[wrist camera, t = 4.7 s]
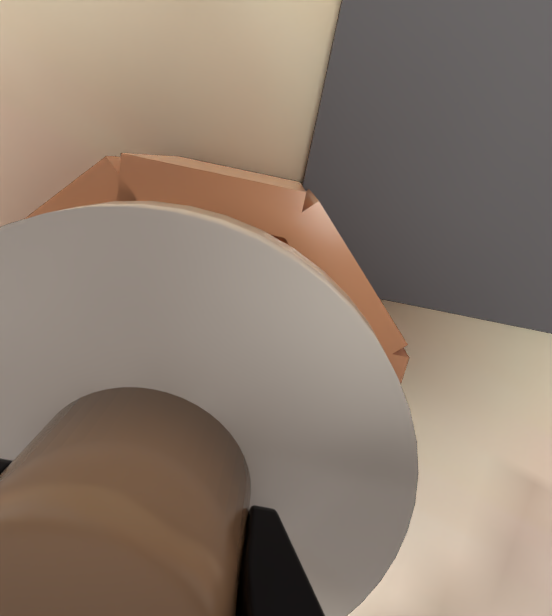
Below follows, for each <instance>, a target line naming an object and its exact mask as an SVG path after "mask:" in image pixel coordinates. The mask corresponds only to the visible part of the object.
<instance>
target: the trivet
mask: <svg viewBox="0 0 552 616" xmlns="http://www.w3.org/2000/svg"><path fill="white" fill-rule="evenodd" d="M302 186H303V188H304V189H305V191H307V190H308V189H309V190H310V191H311V192H312V193H313V194H314V196H315V197H316V198H317V199H318V200H319V202H320V203H321V205H322V207H323V208H324V210H325V212H326V213H327V215H328V216H329V218H330V220H331V221H332V223H333V225H334V226H335V228H336V229H337V231H338V233H339V234H340V236H341V237H342V239H343V241H344V242H345V244H346V246H347V247H348V249H349V250H350V252H351V254H352V255H353V257H354V258H355V260H356V262H357V263H358V265H359V267H360V268H361V270H362V271H363V273H364V275H365V276H366V278H367V279H368V281H369V283H370V284H371V286H372V288H373V289H374V291H375V292H376V294H377V296H378V297H379V299H383V300H388V301H393V302H398V303H403V304H408V305H413V306H418V307H423V308H428V309H433V310H438V311H443V312H448V313H453V314H458V315H462V316H467V317H472V318H477V319H482V320H487V321H492V322H497V323H502V324H507V325H512V326H517V327H522V328H527V329H532V330H537V331H541V332H546V333H551V334H552V0H342V2H341V6H340V11H339V16H338V20H337V25H336V30H335V35H334V39H333V44H332V49H331V53H330V58H329V63H328V67H327V72H326V77H325V81H324V86H323V91H322V96H321V100H320V105H319V110H318V114H317V119H316V124H315V128H314V133H313V138H312V142H311V147H310V152H309V157H308V161H307V166H306V171H305V175H304V180H303V185H302Z"/></svg>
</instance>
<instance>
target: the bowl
mask: <svg viewBox="0 0 552 616" xmlns="http://www.w3.org/2000/svg"><path fill="white" fill-rule="evenodd" d="M112 201H157V202H165V203H173V204H180V205H188V206H193V207H197V208H200V209H204V210H208V211H212V212H215V213H219V214H223V215H227V216H229V217H232V218H234V219H237V220H239V221H241V222H244V223H246V224H249V225H251V226H254V227H256V228H258V229H261V230H263V231H265V232H266V233H268V234H270V235H272V236H273V237H275V238H277V239H279V240H280V241H282V242H284V243H286V244H287V245H289V246H291V247H293V248H294V249H296V250H297V251H298V252H300V253H301V254H302V255H304V256H305V257H306V258H308V259H309V260H310V261H311V262H313V263H314V264H315V265H317V266H318V267H319V268H321V269H322V270H323V271H324V272H325V273H326V274H327V275H328V276H329V277H330V278H331V279H332V280H333V281H334V282H335V283H336V284H337V285H338V286H339V287H340V288H341V289H342V290H343V291H344V292H345V293H346V294H347V295H348V296H349V297H350V298H351V300H352V301H353V302H354V304H355V305H356V306H357V308H358V309H359V310H360V312H361V313H362V314H363V316H364V317H365V318H366V320H367V321H368V322H369V324H370V326H371V328H372V329H373V331H374V333H375V335H376V337H377V338H378V340H379V342H380V344H381V345H382V347H383V349H384V351H385V353H386V355H387V357H388V359H389V361H390V363H391V365H392V367H393V369H394V371H395V373H396V375H397V377H398V379H399V382H400V384H401V382H402V379H403V376H404V373H405V370H406V366H407V363H408V360H409V356H408V355H407V353H406V351H405V350H404V348H403V347H405V346H407V345H408V344H407V343H406V341H405V339H404V338H403V336H402V334H401V333H400V331H399V330H398V328H397V326H396V325H395V323H394V322H393V320H392V318H391V317H390V315H389V313H388V312H387V310H386V309H385V307H384V305H383V304H382V302H381V301H380V299H379V297H378V296H377V294H376V292H375V291H374V289H373V288H372V286H371V284H370V283H369V281H368V279H367V278H366V276H365V275H364V273H363V271H362V270H361V268H360V267H359V265H358V263H357V262H356V260H355V258H354V257H353V255H352V254H351V252H350V250H349V249H348V247H347V246H346V244H345V242H344V241H343V239H342V237H341V236H340V234H339V233H338V231H337V229H336V228H335V226H334V225H333V223H332V221H331V220H330V218H329V216H328V215H327V213H326V212H325V210H324V208H323V207H322V205H321V203H320V202H319V200H318V199H317V198H316V197H315V196H314V194H313V193H312V192H311V191H310V190H309V189H308V190H307V191H305V189H304V188H303V186H302V185H301V183H300V182H298V181H293V180H288V179H283V178H279V177H274V176H269V175H265V174H260V173H255V172H250V171H246V170H241V169H236V168H231V167H227V166H222V165H217V164H213V163H208V162H203V161H198V160H194V159H189V158H184V157H179V156H164V155H147V154H130V153H121V157H116V156H105V157H104V158H103V159H101V160H100V161H99V162H98V163H96V164H95V165H94V166H92V167H91V168H90V169H88V170H87V171H86V172H85V173H83V174H82V175H81V176H79V177H78V178H77V179H75V180H74V181H73V182H72V183H70V184H69V185H68V186H66V187H65V188H64V189H63V190H61V191H60V192H59V193H57V194H56V195H55V196H53V197H52V198H51V199H50V200H48V201H47V202H46V203H44V204H43V205H42V206H40V207H39V208H38V209H37V210H35V211H34V212H33V213H31V214H30V215H29V216H27V217H26V218H25V219H27V218H30V217H34V216H37V215H40V214H44V213H48V212H53V211H58V210H63V209H68V208H73V207H78V206H84V205H91V204H98V203H105V202H112Z"/></svg>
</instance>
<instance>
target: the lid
mask: <svg viewBox="0 0 552 616" xmlns="http://www.w3.org/2000/svg"><path fill="white" fill-rule="evenodd" d="M0 458H2V459H7V460H12V463H11V464H10V465H9V466H8V467H7V468H6V469H5V470H4V471H3V472H2V473H1V474H0V616H237V608H238V599H239V591H240V581H241V573H242V564H243V556H244V547H245V539H246V530H247V521H248V513H249V509H250V507H251V506H253V505H256V506H262V507H267V508H273V509H275V510H276V511H277V513H278V515H279V517H280V519H281V521H282V523H283V525H284V528H285V530H286V532H287V534H288V536H289V538H290V541H291V543H292V545H293V547H294V549H295V551H296V554H297V556H298V558H299V560H300V562H301V564H302V567H303V569H304V571H305V573H306V575H307V577H308V580H309V582H310V584H311V586H312V588H313V590H314V592H315V595H316V597H317V599H318V601H319V603H320V605H321V608H322V610H323V612H324V614H325V616H347V615H348V614H350V613H351V612H352V611H353V610H354V609H355V608H356V607H357V606H359V605H360V604H361V603H362V602H363V601H364V600H365V598H366V597H367V596H368V595H369V594H370V593H371V591H372V590H373V589H374V588H375V587H376V586H377V585H378V583H379V582H380V581H381V580H382V578H383V576H384V575H385V573H386V572H387V570H388V569H389V567H390V565H391V564H392V562H393V561H394V559H395V558H396V556H397V553H398V551H399V549H400V547H401V544H402V542H403V540H404V538H405V535H406V533H407V531H408V527H409V523H410V520H411V516H412V512H413V509H414V505H415V499H416V490H417V481H418V457H417V441H416V436H415V431H414V426H413V421H412V417H411V412H410V408H409V406H408V403H407V400H406V398H405V395H404V392H403V390H402V387H401V384H400V382H399V379H398V377H397V375H396V373H395V371H394V369H393V367H392V365H391V363H390V361H389V359H388V357H387V355H386V353H385V351H384V349H383V347H382V345H381V344H380V342H379V340H378V338H377V337H376V335H375V333H374V331H373V329H372V328H371V326H370V324H369V322H368V321H367V320H366V318H365V317H364V316H363V314H362V313H361V312H360V310H359V309H358V308H357V306H356V305H355V304H354V302H353V301H352V300H351V298H350V297H349V296H348V295H347V294H346V293H345V292H344V291H343V290H342V289H341V288H340V287H339V286H338V285H337V284H336V283H335V282H334V281H333V280H332V279H331V278H330V277H329V276H328V275H327V274H326V273H325V272H324V271H323V270H322V269H321V268H319V267H318V266H317V265H315V264H314V263H313V262H311V261H310V260H309V259H308V258H306V257H305V256H304V255H302V254H301V253H300V252H298V251H297V250H296V249H294V248H293V247H291V246H289V245H287V244H286V243H284V242H282V241H280V240H279V239H277V238H275V237H273V236H272V235H270V234H268V233H266V232H265V231H263V230H261V229H258V228H256V227H254V226H251V225H249V224H246V223H244V222H241V221H239V220H237V219H234V218H232V217H229V216H227V215H223V214H219V213H215V212H212V211H208V210H204V209H200V208H197V207H193V206H188V205H180V204H173V203H165V202H157V201H112V202H105V203H98V204H91V205H84V206H78V207H73V208H68V209H63V210H58V211H53V212H48V213H44V214H40V215H37V216H34V217H30V218H27V219H24V220H20V221H17V222H13V223H10V224H7V225H4V226H2V227H0Z"/></svg>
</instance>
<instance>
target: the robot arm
mask: <svg viewBox="0 0 552 616" xmlns="http://www.w3.org/2000/svg"><path fill="white" fill-rule="evenodd" d="M11 463H12V460H7V459H2V458H0V474H1V473H2V472H3V471H4V470H5V469H6V468H7V467H8V466H9V465H10V464H11ZM237 616H325V614H324V612H323V610H322V608H321V605H320V603H319V601H318V599H317V597H316V595H315V592H314V590H313V588H312V586H311V584H310V582H309V580H308V577H307V575H306V573H305V571H304V569H303V567H302V564H301V562H300V560H299V558H298V556H297V554H296V551H295V549H294V547H293V545H292V543H291V541H290V538H289V536H288V534H287V532H286V530H285V528H284V525H283V523H282V521H281V519H280V517H279V515H278V513H277V511H276V510H275V509H273V508H267V507H262V506H256V505H253V506H251V507H250V509H249V513H248V521H247V530H246V539H245V547H244V556H243V564H242V573H241V581H240V591H239V599H238V608H237Z"/></svg>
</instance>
